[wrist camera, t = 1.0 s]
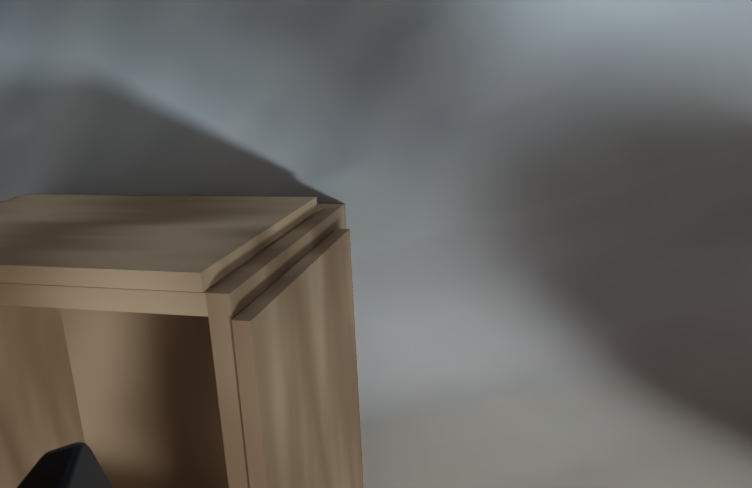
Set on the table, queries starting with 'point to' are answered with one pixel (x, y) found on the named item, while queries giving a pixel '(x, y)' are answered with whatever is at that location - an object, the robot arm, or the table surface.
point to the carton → (180, 339)
